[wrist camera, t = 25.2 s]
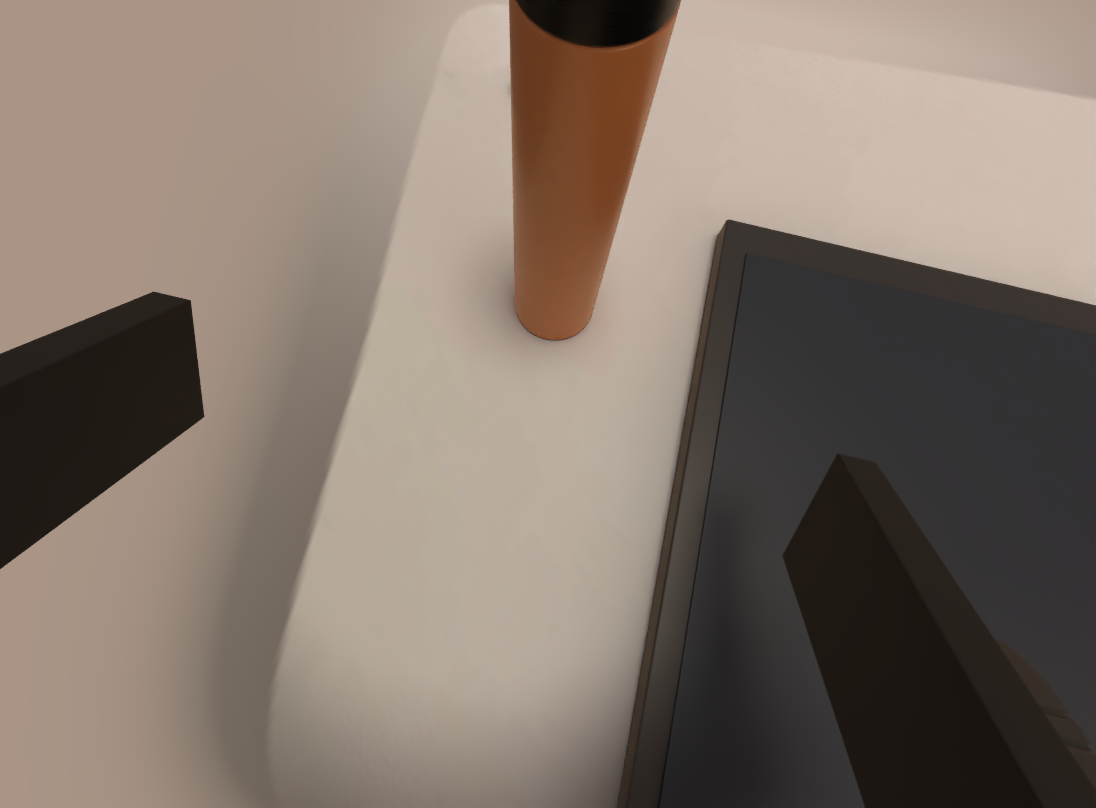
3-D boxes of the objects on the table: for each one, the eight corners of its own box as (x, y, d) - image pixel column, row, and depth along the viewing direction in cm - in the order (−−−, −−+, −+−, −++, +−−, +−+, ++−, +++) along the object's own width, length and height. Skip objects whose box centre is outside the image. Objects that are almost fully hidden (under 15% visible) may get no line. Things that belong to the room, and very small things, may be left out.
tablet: (599, 902, 15) (605, 928, 14) (717, 234, 20) (728, 215, 19) (1143, 1042, 14) (1193, 1080, 13) (1111, 327, 20) (1145, 313, 19)
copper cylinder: (506, 330, 19) (484, -47, 7) (525, 261, 19) (533, -180, 8) (583, 348, 19) (686, -1, 7) (600, 279, 19) (716, -140, 8)
